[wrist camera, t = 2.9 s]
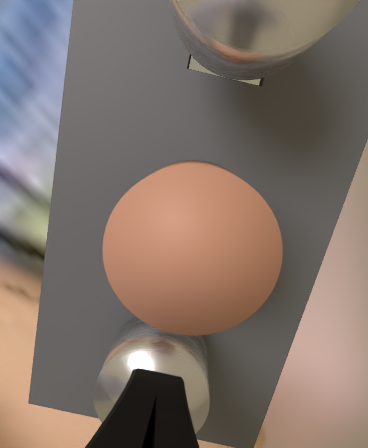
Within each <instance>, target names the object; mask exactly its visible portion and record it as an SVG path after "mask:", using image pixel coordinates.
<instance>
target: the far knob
mask: <svg viewBox="0 0 368 448" xmlns="http://www.w3.org/2000/svg"><path fill="white" fill-rule="evenodd" d="M136 368H142V369H147V370H151V371H156V372H161V373H165V374H170V375H174V376H179V377H182V379H183V381H184V385H185V391H186V397H187V402H188V407H189V411H190V415H191V419H192V423H193V427H194V431H195V434H196V433H197V432H198V431H199V430H200V428H201V427H202V426H203V424H204V422H205V421H206V418H207V416H208V412H209V405H210V400H209V382H208V364H207V349H206V344H205V341H204V339H203V337H202V335H196V336H192V335H180V334H173V333H170V332H166V331H162V330H160V329H158V328H155V327H153V326H151V325H149V324H147V323H145V322H144V321H142V320H141V319H139V318H138V317H136V316H135V317H133V318H131V319H130V320H128V321H127V322H126V323H125V324H123V326H122V327H121V328H120V329H119V331H118V332H117V334H116V336H115V339H114V341H113V343H112V346H111V348H110V350H109V353H108V355H107V358H106V360H105V362H104V365H103V367H102V369H101V372H100V374H99V376H98V379H97V381H96V384H95V387H94V392H93V403H94V407H95V410H96V413H97V415H98V417H99V419H100V421H101V422H102V423H103V421H104V420H105V418H106V417H107V416H108V414H109V413H110V411H111V410H112V408H113V406H114V405H115V403H116V402H117V400H118V398H119V397H120V395H121V393H122V391H123V390H124V388H125V386H126V384H127V382H128V380H129V378H130V376H131V373H132V371H133V370H134V369H136Z"/></svg>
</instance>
